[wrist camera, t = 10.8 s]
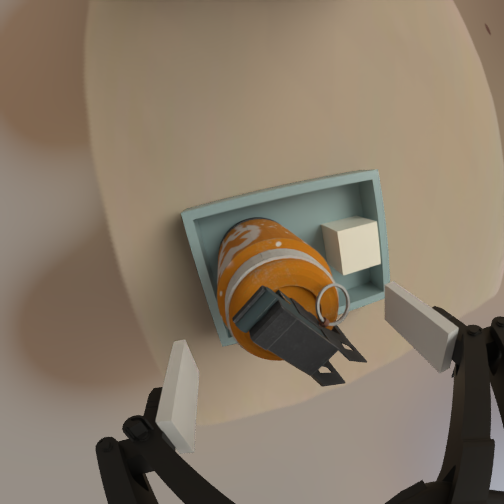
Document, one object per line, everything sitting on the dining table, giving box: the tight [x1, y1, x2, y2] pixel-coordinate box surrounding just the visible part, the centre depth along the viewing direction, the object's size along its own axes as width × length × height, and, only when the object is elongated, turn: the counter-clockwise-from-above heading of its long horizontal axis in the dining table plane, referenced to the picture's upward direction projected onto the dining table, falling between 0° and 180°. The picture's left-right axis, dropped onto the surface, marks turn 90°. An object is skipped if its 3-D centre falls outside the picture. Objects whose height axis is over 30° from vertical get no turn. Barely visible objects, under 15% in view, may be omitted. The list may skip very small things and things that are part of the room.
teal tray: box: [181, 170, 390, 347], centre depth 32 cm, size 16×22×4 cm
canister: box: [217, 217, 367, 386], centre depth 23 cm, size 9×11×20 cm
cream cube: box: [321, 216, 381, 275], centre depth 31 cm, size 5×5×5 cm
